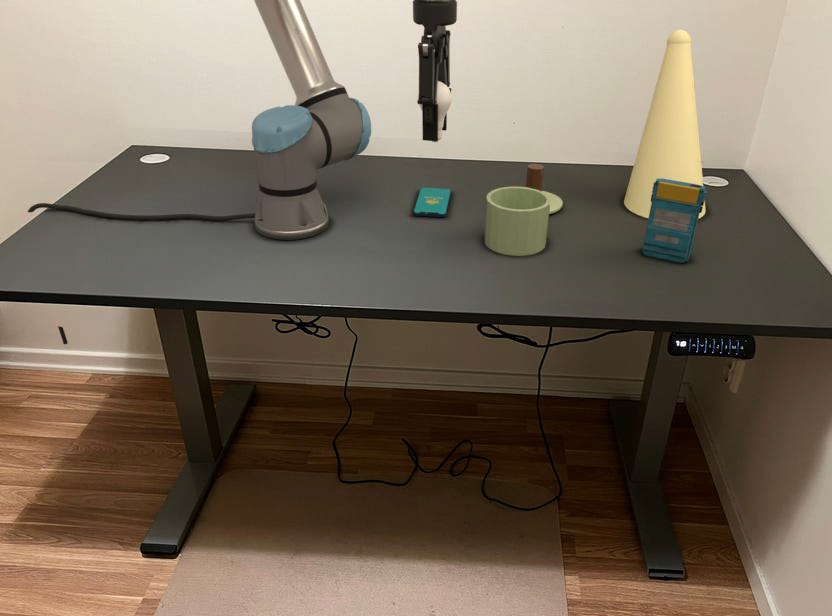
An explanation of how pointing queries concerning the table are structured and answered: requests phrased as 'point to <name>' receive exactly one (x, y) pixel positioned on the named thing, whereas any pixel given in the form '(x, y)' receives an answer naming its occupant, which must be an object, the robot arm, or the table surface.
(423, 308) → the table surface
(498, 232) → the canister
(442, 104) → the lightbulb
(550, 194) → the canister lid
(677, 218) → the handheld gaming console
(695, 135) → the cone light
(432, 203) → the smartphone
